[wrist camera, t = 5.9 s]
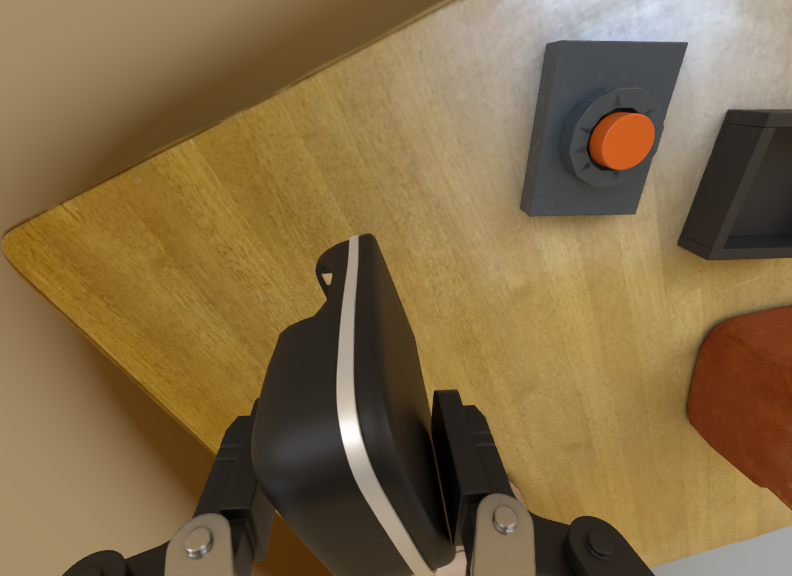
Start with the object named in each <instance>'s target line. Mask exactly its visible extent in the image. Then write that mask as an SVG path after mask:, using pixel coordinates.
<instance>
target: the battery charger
mask: <svg viewBox="0 0 792 576" xmlns="http://www.w3.org/2000/svg"><path fill="white" fill-rule="evenodd" d="M316 275H317V278H318V281H319V283H320V286H321V288H322V290H323V292H324V293H325V295H326V297H327V301H326V302H325V303H324V305H323V306H322V307H321V309H320V310H319V311H318V312H317V313H316V314H315V315H314V316H313V317H310V318H307V319H304V320H302V321H299V322H297V323H295V324H293V325H290V326H289V327H287V328H286V329H285V330H284V331H283V332H282V333H280V335H279V338H278V341H277V344H276V347H275V350H274V353H273V355H272V358H271V360H270V363H269V365H268V369H267V372H266V376H265V379H264V383H263V387H262V391H261V395H260V398H259V402H258V407H257V411H256V415H255V420H254V424H253V430H252V437H251V459H252V464H253V470H254V474H255V476H256V479H257V481H258V484H259V486H260V488H261V490H262V491H263V493H264V494H265V496H266V497H267V499H268V500H269V501H270V503H271V504H272V505H273V506H274V508H275V509H276V510H277V511H278V512H279V514H280V515H281V516H282V517H283V519H284V520H285V521H286V522H287V523H288V525H289V526H290V527H291V528H292V529H293V530H294V532H295V533H296V534H297V535H298V537H299V538H300V539H301V540H302V541H303V543H304V544H305V545H306V546H307V547H308V548H309V549H310V551H312V553H313V554H314V555H315V556H316V557H317V558H318V559H319V560H320V561H321V562H322V564H323V565H324V566H325V567H326V568H327V569H328V570H329V571H330V572H331V573H332V574H333V575H334V576H411V575H416V576H430V575H434V574H435V573H436V572H437V569H438V568H442V567H444V566H446V565H448V564H450V563H452V561H453V560H454V559H455V556H456V546H454V547H453V544H452V539H451V534H450V529H449V524H448V519H447V514H446V509H445V504H444V499H443V493H442V488H441V483H440V478H439V473H438V468H437V463H436V458H435V453H434V448H433V443H432V436H431V413H430V408H429V404H428V399H427V394H426V390H425V385H424V380H423V376H422V371H421V366H420V361H419V356H418V351H417V346H416V341H415V337H414V334H413V332H412V329H411V327H410V324H409V321H408V319H407V316H406V314H405V311H404V309H403V306H402V303H401V301H400V298H399V296H398V293H397V291H396V288H395V286H394V283H393V281H392V278H391V275H390V273H389V270H388V268H387V265H386V263H385V260H384V258H383V255H382V253H381V250H380V248H379V245H378V243H377V240H376V238H375V237H374V236H373V235H372V234H364V235H361V236H359V235H355V236H352V237H350V238H349V240H347V241H344V242H341V243H338V244H336V245H335V246H333V247H331V248H330V249H328V250H327V251H325V252H324V253H323V254H322V255H321V256H320V258H319V259H318V261H317V265H316Z"/></svg>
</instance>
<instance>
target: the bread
mask: <svg viewBox="0 0 792 576" xmlns="http://www.w3.org/2000/svg"><path fill="white" fill-rule="evenodd" d="M687 414H688V417H689V421H690V424H691V425H692V426H693V427H694V428H695V429H696V430H697V431H698V433H699V434H700V435H701V436H702V437H703V438H704V439H705V440H706V441H707V442H708V444H709V445H710V446H711V447H712V448H714V449H715V450H716V451H717V452H718V453H719V454H721V455H722V456H723V457H724V458H725V459H726V460H728V461H729V462H730V463H731V464H732V465H733V466H735V467H736V468H737V469H738V470H739V471H740V472H742V473H743V474H744V475H745V476H746V477H747V478H749V479H750V480H751V481H752V482H753V483H755V484H756V485H758V486H760V487H763V488H768V489H769V490H770V491H771V492H772V493H774V494H775V495H776V496H777V497H778V498H779V499H780V500H781V501H782V502H783V503H784V504H785V505H786V506H788V507H789V508H790V509H791V510H792V306H787V307H781V308H775V309H770V310H766V311H762V312H757V313H753V314H749V315H744V316H740V317H736V318H731V319H729V320H728V321H726V322H724V323H723V324H721V325H719V326H718V327H716V328H714V329H713V330H712V331H711V333H710V334H709V336H708V337H707V339H706V341H705V342H704V344H703V345H702V347H701V350H700V354H699V357H698V361H697V364H696V368H695V371H694V375H693V380H692V384H691V388H690V393H689V400H688V407H687Z"/></svg>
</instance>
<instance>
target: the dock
mask: <svg viewBox="0 0 792 576" xmlns="http://www.w3.org/2000/svg"><path fill="white" fill-rule="evenodd" d="M678 245H679V246H681V247H682V248H684V249H686V250H688V251H690V252H692V253H694V254H696V255H698V256H700V257H702V258H704V259H706V260H734V259H766V258H792V110H728V112H727V114H726V117H725V120H724V122H723V125H722V128H721V130H720V133H719V136H718V138H717V141H716V144H715V146H714V149H713V152H712V154H711V157H710V159H709V162H708V165H707V167H706V170H705V173H704V175H703V178H702V181H701V183H700V186H699V189H698V191H697V194H696V197H695V199H694V202H693V205H692V207H691V210H690V212H689V215H688V218H687V220H686V223H685V226H684V228H683V231H682V234H681V236H680V239H679V242H678Z"/></svg>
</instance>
